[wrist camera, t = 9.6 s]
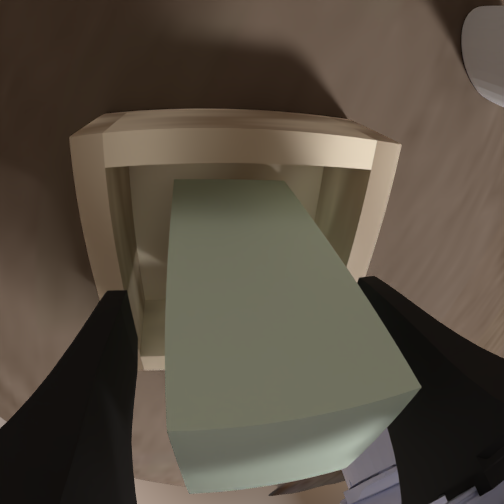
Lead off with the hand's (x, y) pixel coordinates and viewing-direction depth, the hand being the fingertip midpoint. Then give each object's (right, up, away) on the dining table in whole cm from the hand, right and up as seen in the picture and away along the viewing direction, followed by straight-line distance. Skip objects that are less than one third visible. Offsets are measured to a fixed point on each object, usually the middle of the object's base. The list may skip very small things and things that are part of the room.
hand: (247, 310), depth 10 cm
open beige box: (-1, +3, +4) cm, 6 cm away
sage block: (-1, +3, +4) cm, 5 cm away
